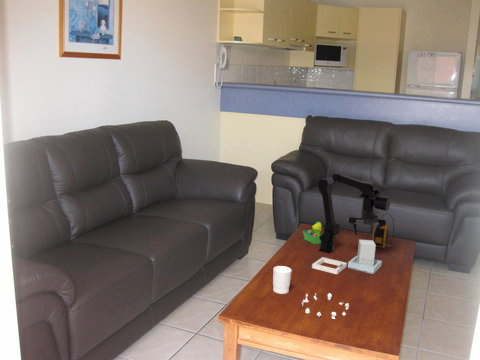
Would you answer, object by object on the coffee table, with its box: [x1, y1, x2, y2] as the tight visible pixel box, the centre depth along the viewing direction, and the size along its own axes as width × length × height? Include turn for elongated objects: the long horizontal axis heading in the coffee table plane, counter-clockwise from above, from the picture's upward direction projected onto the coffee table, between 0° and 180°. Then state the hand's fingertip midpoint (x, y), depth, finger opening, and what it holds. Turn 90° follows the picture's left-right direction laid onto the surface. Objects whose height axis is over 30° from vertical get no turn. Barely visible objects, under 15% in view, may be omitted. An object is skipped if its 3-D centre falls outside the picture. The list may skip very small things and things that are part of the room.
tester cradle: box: [311, 256, 348, 275], centre depth 261 cm, size 13×13×3 cm
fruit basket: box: [302, 221, 323, 245], centre depth 299 cm, size 11×9×11 cm
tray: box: [347, 255, 383, 275], centre depth 264 cm, size 13×13×3 cm
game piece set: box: [301, 292, 350, 320], centre depth 215 cm, size 19×20×4 cm
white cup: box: [272, 265, 293, 295], centre depth 229 cm, size 8×8×10 cm
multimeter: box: [366, 211, 395, 249], centre depth 299 cm, size 15×10×20 cm
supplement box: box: [356, 239, 376, 267], centre depth 263 cm, size 7×7×13 cm
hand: (364, 236), depth 271 cm, fingers open, 9 cm apart
